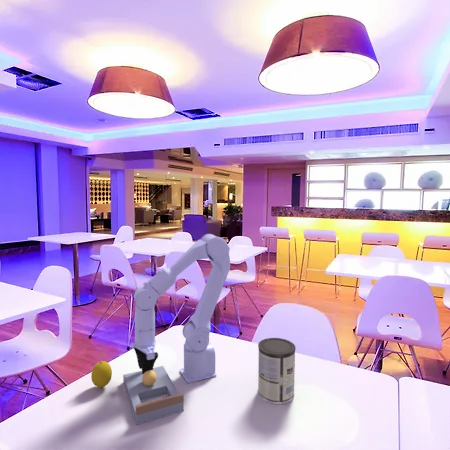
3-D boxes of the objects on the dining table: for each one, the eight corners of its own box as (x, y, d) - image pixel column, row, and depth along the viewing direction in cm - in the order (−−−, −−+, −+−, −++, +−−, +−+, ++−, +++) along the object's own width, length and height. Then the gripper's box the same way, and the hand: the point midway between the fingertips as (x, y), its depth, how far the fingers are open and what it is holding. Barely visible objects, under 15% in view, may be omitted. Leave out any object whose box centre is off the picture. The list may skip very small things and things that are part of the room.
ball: (158, 368, 91) (156, 382, 88) (156, 374, 94) (154, 388, 91) (144, 366, 91) (141, 381, 88) (142, 373, 93) (140, 387, 90)
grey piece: (163, 373, 101) (162, 359, 101) (183, 410, 83) (183, 394, 83) (123, 382, 96) (123, 368, 96) (136, 424, 78) (136, 407, 78)
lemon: (105, 394, 90) (104, 367, 89) (87, 391, 91) (86, 364, 90) (115, 383, 95) (115, 357, 95) (99, 381, 97) (98, 355, 96)
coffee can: (263, 379, 98) (264, 334, 97) (297, 388, 94) (299, 341, 93) (252, 398, 89) (253, 349, 88) (289, 409, 84) (290, 357, 83)
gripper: (126, 321, 99) (126, 363, 100) (136, 339, 86) (136, 388, 87) (149, 317, 102) (149, 359, 103) (162, 335, 89) (161, 382, 90)
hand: (145, 372), depth 95 cm, fingers open, 5 cm apart
